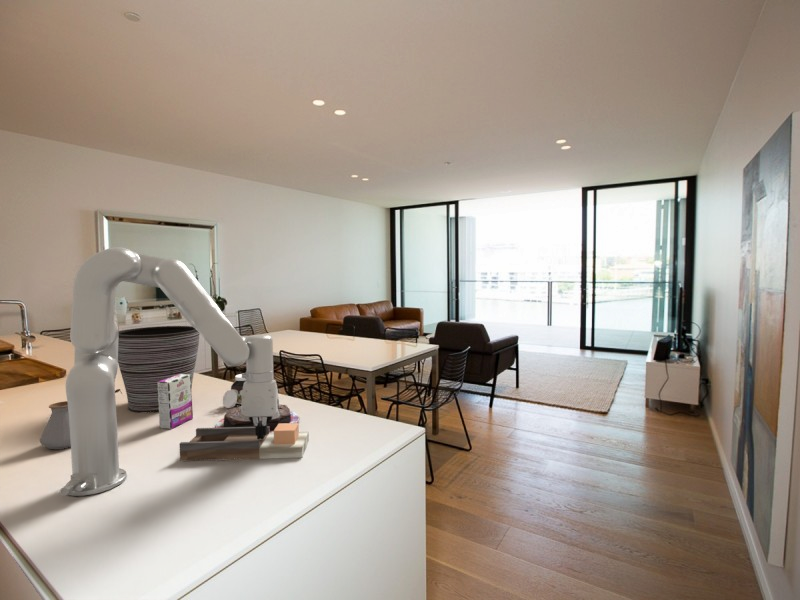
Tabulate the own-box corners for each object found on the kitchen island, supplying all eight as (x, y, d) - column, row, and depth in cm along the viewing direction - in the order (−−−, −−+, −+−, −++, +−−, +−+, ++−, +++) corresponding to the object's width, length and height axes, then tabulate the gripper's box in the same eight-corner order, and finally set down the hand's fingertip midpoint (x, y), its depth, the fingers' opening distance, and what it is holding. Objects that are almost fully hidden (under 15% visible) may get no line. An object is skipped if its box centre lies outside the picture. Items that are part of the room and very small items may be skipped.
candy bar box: (181, 417, 156) (179, 373, 155) (193, 418, 155) (191, 374, 154) (158, 428, 145) (156, 381, 144) (171, 429, 144) (169, 382, 143)
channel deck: (302, 457, 122) (301, 440, 121) (180, 460, 120) (179, 443, 119) (308, 440, 134) (308, 425, 133) (197, 443, 132) (197, 428, 131)
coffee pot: (39, 456, 123) (36, 405, 122) (40, 443, 132) (38, 396, 131) (126, 438, 136) (124, 392, 136) (122, 428, 145) (120, 384, 145)
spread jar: (260, 401, 176) (260, 373, 175) (248, 410, 164) (247, 380, 164) (233, 400, 177) (232, 372, 176) (219, 409, 165) (218, 379, 165)
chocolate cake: (294, 408, 167) (293, 391, 167) (305, 433, 141) (304, 413, 141) (217, 417, 157) (216, 399, 157) (213, 445, 131) (212, 424, 131)
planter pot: (110, 402, 174) (107, 330, 172) (189, 389, 194) (187, 324, 192) (123, 422, 151) (119, 338, 149) (211, 404, 171) (209, 330, 169)
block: (294, 443, 124) (294, 430, 124) (274, 444, 124) (273, 430, 123) (298, 435, 130) (298, 423, 130) (278, 436, 130) (278, 423, 129)
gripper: (230, 380, 121) (231, 443, 122) (282, 379, 122) (284, 442, 123) (238, 374, 129) (240, 433, 130) (288, 373, 130) (289, 432, 131)
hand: (261, 437), depth 127 cm, fingers closed
